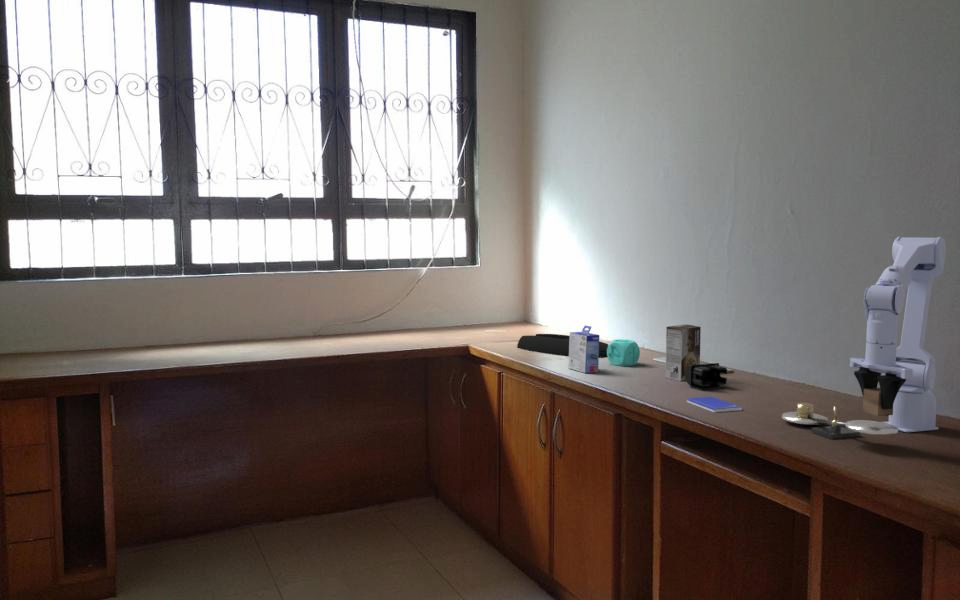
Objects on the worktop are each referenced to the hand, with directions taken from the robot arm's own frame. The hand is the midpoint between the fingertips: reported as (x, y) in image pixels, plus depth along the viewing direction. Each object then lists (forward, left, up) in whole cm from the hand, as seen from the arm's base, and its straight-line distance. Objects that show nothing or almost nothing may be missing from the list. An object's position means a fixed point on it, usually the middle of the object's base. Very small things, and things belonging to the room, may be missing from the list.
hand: (877, 406), depth 161 cm
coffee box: (-2, -77, -9) cm, 78 cm away
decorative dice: (+4, -104, -9) cm, 104 cm away
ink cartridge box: (+22, -97, -9) cm, 100 cm away
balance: (+1, -10, -9) cm, 13 cm away
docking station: (+10, -138, -9) cm, 138 cm away
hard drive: (+11, -42, -9) cm, 44 cm away
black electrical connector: (-1, -63, -9) cm, 64 cm away
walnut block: (0, 0, -2) cm, 2 cm away
